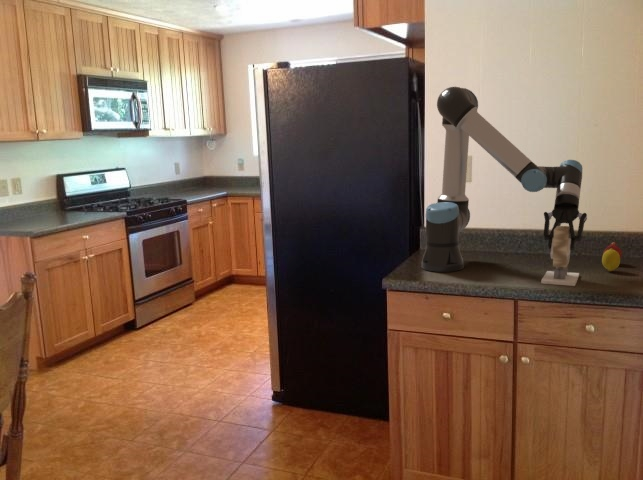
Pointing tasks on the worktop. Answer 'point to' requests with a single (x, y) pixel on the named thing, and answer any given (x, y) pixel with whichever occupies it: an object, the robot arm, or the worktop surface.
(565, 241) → the tan wooden block
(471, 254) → the worktop surface
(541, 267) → the worktop surface
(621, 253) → the onion
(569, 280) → the peg rest
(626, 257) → the worktop surface
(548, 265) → the worktop surface
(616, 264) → the lemon
